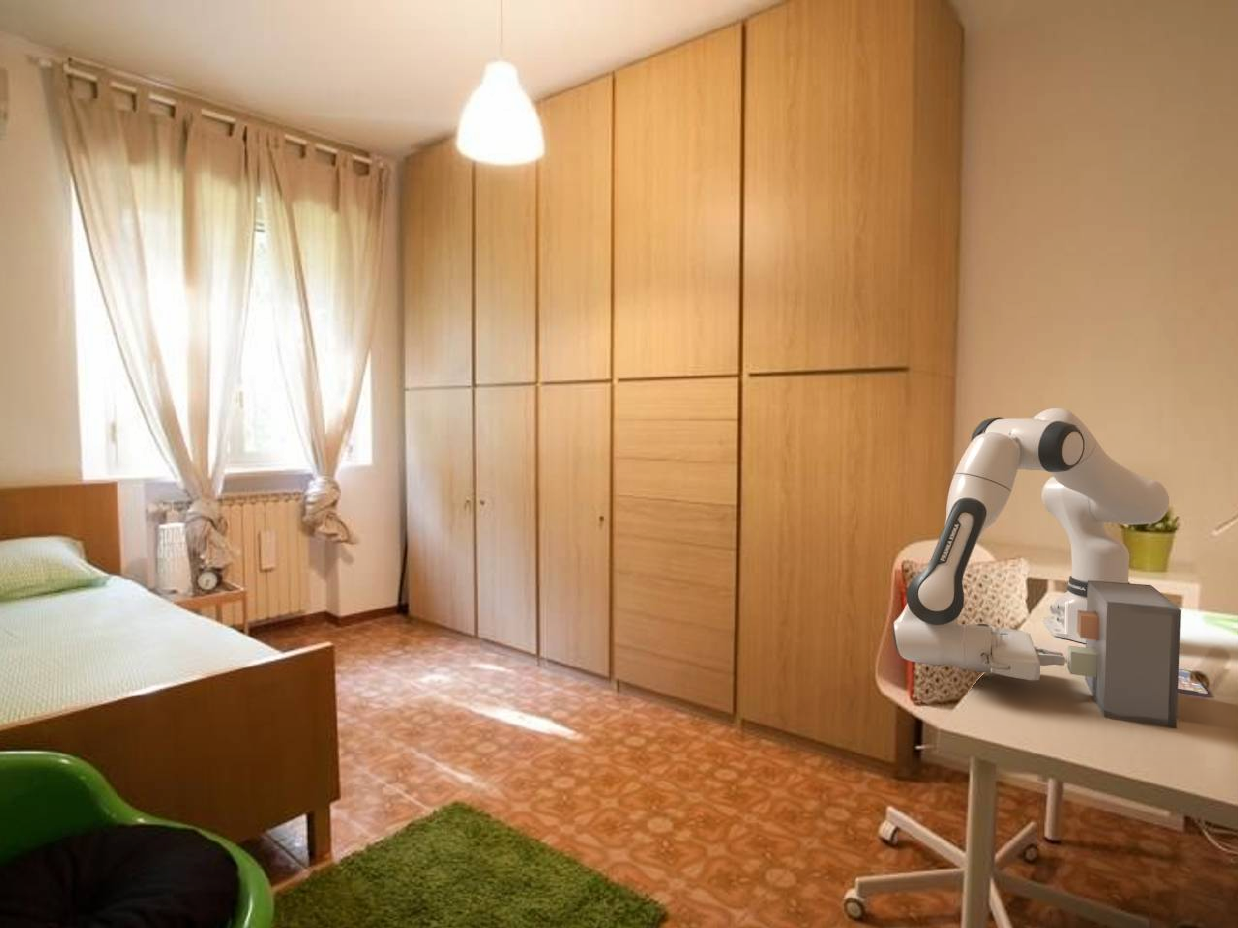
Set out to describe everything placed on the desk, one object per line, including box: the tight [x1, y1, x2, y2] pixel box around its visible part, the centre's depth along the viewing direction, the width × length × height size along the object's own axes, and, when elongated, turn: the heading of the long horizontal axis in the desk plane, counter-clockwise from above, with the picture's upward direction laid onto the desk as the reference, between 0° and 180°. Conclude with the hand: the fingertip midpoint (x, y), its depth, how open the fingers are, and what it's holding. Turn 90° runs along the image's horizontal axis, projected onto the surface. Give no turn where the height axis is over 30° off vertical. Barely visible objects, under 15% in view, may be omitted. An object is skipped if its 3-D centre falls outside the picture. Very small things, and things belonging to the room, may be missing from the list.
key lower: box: [1066, 644, 1097, 677], centre depth 126 cm, size 5×4×4 cm
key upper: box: [1077, 610, 1099, 640], centre depth 125 cm, size 5×4×4 cm
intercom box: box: [1084, 580, 1182, 729], centre depth 123 cm, size 10×20×20 cm, turn 153°
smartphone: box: [1178, 668, 1211, 698], centre depth 134 cm, size 1×7×15 cm
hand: (1063, 659), depth 128 cm, fingers closed
